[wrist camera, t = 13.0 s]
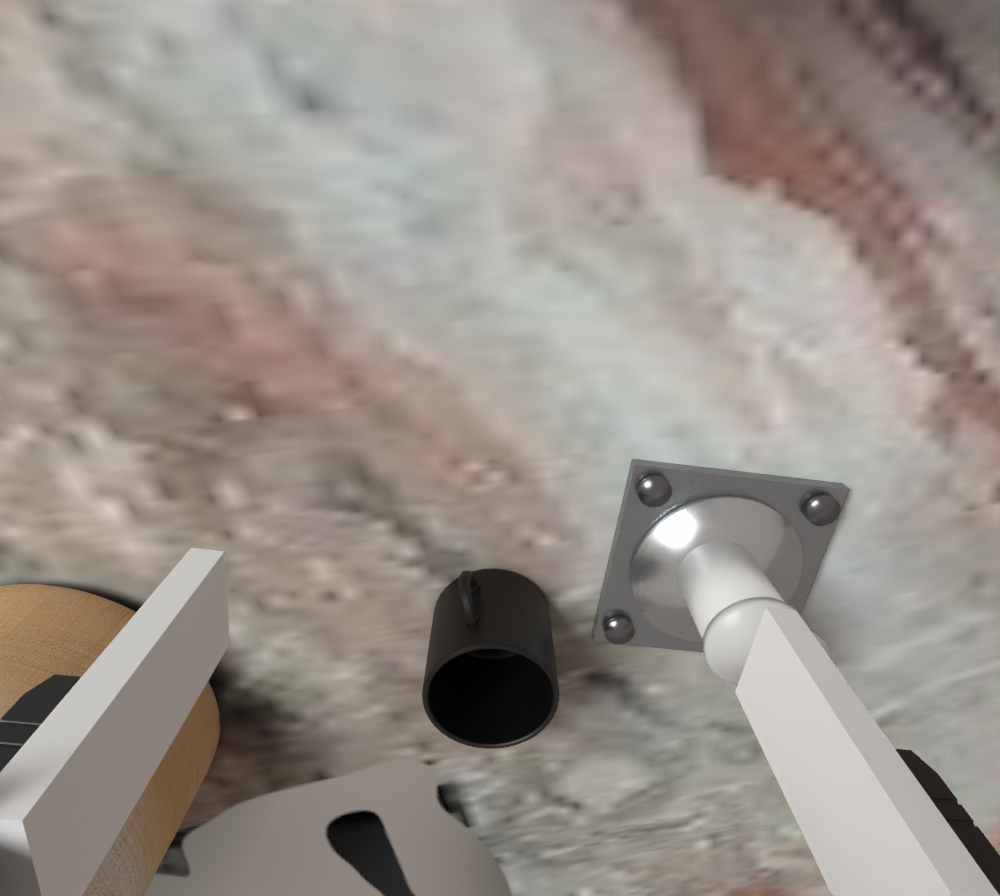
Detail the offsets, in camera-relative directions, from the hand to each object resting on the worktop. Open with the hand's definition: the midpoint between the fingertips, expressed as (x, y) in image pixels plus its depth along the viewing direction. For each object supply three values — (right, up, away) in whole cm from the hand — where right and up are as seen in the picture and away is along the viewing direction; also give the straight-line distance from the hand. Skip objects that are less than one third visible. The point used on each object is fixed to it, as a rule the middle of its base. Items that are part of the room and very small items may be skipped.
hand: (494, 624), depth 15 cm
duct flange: (+17, -5, +33) cm, 38 cm away
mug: (-1, -8, +35) cm, 36 cm away
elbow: (+18, -6, +32) cm, 37 cm away
